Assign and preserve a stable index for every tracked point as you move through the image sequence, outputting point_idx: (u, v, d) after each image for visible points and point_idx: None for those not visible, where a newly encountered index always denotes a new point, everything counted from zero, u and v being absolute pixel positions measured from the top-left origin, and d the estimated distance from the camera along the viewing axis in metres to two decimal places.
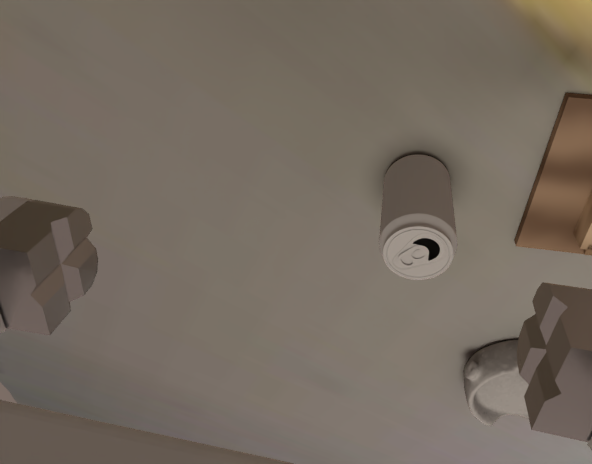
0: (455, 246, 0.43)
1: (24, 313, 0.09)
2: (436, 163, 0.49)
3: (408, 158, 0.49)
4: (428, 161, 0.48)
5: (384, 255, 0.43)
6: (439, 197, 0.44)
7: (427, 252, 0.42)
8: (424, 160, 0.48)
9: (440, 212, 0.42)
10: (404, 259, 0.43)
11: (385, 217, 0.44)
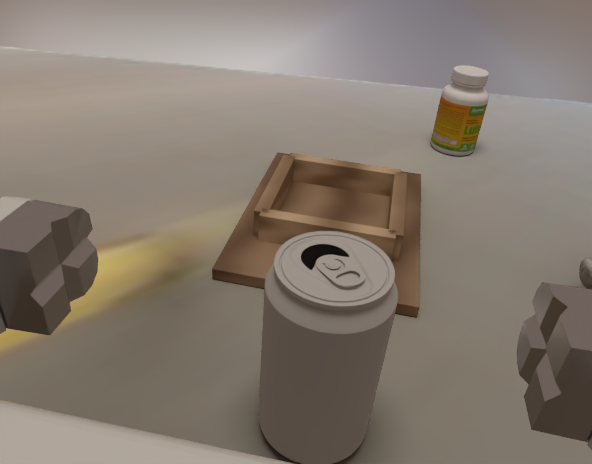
0: (332, 244, 0.27)
1: (24, 313, 0.09)
2: None
3: (259, 415, 0.30)
4: None
5: (339, 304, 0.22)
6: None
7: (331, 256, 0.25)
8: None
9: None
10: (349, 282, 0.23)
11: (289, 345, 0.24)
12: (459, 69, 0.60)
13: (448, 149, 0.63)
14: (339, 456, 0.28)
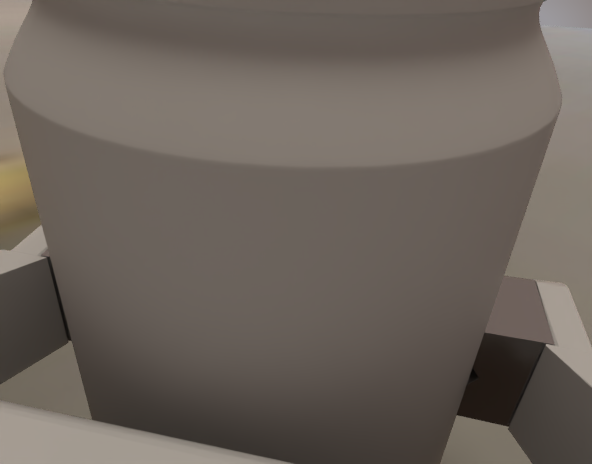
0: None
1: None
2: None
3: None
4: None
5: None
6: None
7: None
8: None
9: None
10: None
11: (91, 271, 0.05)
12: None
13: None
14: None
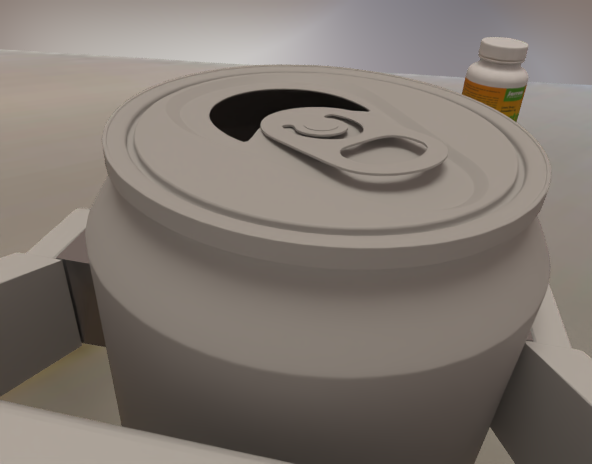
0: None
1: None
2: None
3: None
4: None
5: (374, 242, 0.05)
6: None
7: (312, 110, 0.08)
8: None
9: None
10: None
11: (178, 431, 0.06)
12: (489, 41, 0.46)
13: None
14: None
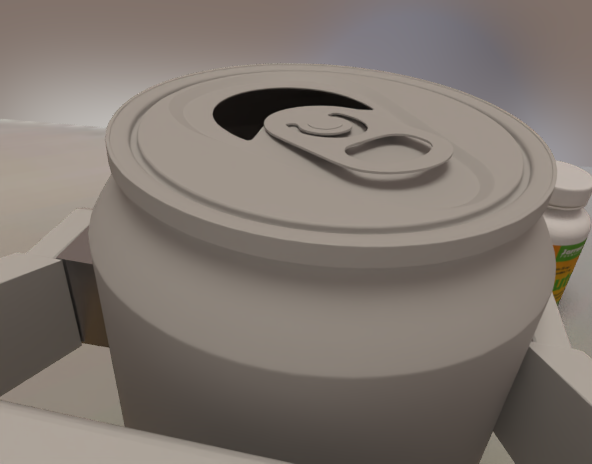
0: None
1: (102, 328, 0.09)
2: None
3: None
4: None
5: (380, 240, 0.05)
6: None
7: (315, 108, 0.08)
8: None
9: None
10: None
11: (182, 431, 0.06)
12: None
13: None
14: None
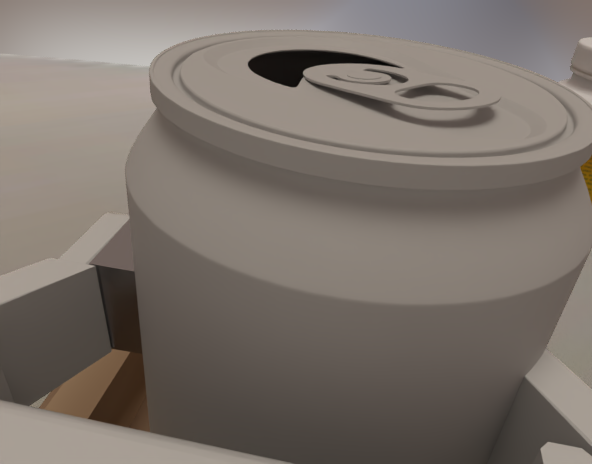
0: None
1: (133, 334, 0.09)
2: None
3: None
4: None
5: (460, 162, 0.05)
6: None
7: (348, 66, 0.08)
8: None
9: None
10: (445, 112, 0.06)
11: (236, 381, 0.06)
12: None
13: None
14: None
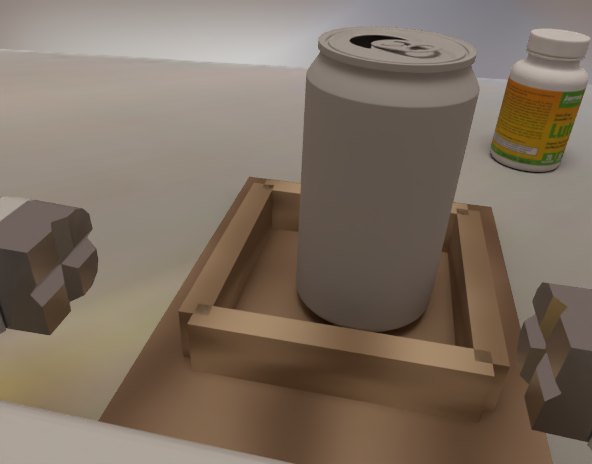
0: None
1: (24, 313, 0.09)
2: None
3: (300, 287, 0.24)
4: None
5: (424, 64, 0.17)
6: None
7: (387, 41, 0.19)
8: None
9: None
10: (422, 54, 0.18)
11: (356, 145, 0.18)
12: (541, 33, 0.37)
13: (522, 162, 0.40)
14: (411, 315, 0.22)
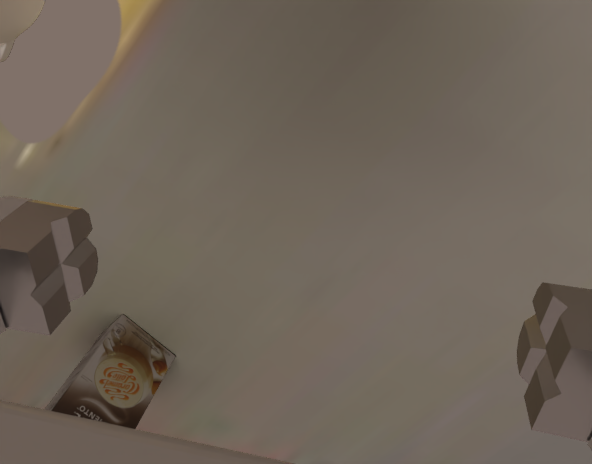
0: None
1: (24, 313, 0.09)
2: None
3: None
4: None
5: None
6: None
7: None
8: None
9: None
10: None
11: None
12: None
13: None
14: None
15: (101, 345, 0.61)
